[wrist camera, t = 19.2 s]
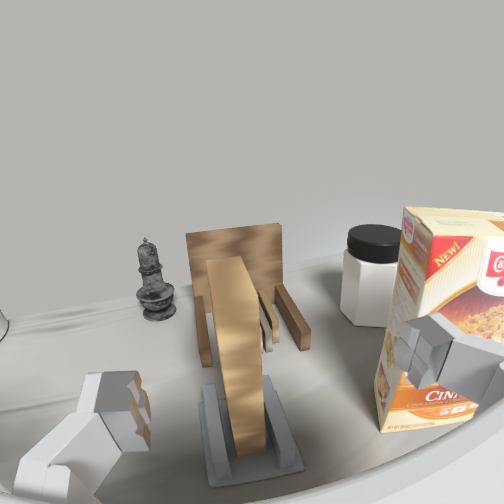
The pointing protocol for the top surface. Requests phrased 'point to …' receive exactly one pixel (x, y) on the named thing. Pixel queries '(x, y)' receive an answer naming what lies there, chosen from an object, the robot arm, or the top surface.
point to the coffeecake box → (441, 305)
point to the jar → (369, 274)
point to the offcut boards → (267, 323)
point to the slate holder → (223, 448)
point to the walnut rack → (258, 267)
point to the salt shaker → (154, 285)
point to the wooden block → (239, 351)
